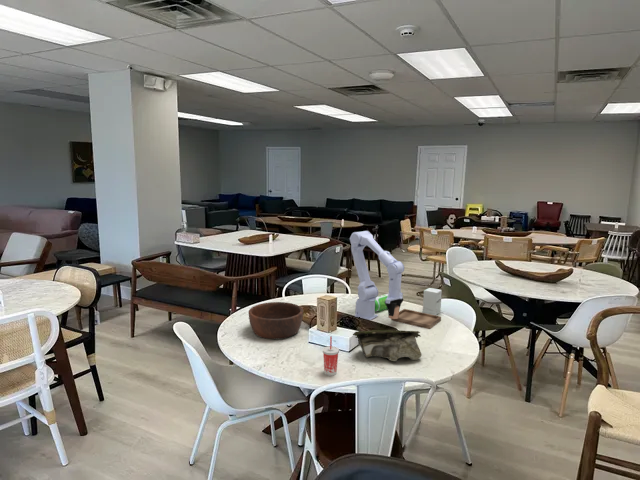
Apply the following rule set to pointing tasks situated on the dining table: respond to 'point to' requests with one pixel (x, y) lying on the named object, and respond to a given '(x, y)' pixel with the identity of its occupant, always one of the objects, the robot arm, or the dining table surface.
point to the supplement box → (432, 301)
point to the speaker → (380, 302)
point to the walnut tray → (417, 318)
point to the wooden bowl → (275, 319)
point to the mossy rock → (389, 344)
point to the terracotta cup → (395, 313)
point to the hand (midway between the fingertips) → (393, 314)
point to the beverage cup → (330, 359)
